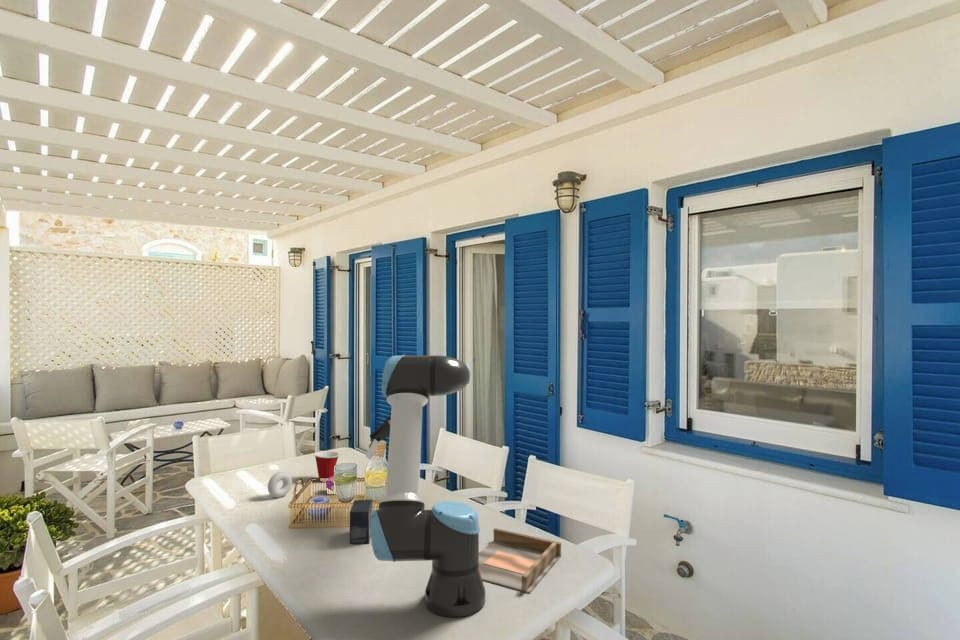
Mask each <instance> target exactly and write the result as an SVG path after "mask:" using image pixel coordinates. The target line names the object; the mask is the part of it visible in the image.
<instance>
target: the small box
mask: <svg viewBox="0 0 960 640" xmlns="http://www.w3.org/2000/svg"><path fill="white" fill-rule="evenodd" d="M372 512H373V499H360V500H359V499H358V500H357V499H356V500H354V501H353V503H352V506H351V508H350V510H349V545H369V544H370V543H371V540H372V539H371V514H372Z"/></svg>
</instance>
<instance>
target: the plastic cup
mask: <svg viewBox="0 0 960 640" xmlns="http://www.w3.org/2000/svg"><path fill="white" fill-rule="evenodd" d="M313 454H314V457H315V462H316V468H317V470H316V471H317V475H318V479H319V478H330V477H335V472H334V466H335V465H336V466H337V464H338V463H337V462H338V458H339V457H340V453H339V452H337V451H330V450H329V451H328V450H323V451H317V452H314V453H313Z"/></svg>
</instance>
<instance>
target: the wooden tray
mask: <svg viewBox="0 0 960 640" xmlns="http://www.w3.org/2000/svg"><path fill="white" fill-rule="evenodd" d="M560 558H562V542H559V541H556V540H551V539H545V538H541V537H538V536H534V535H533V536H532V535H529V534H528V535H527V534H524V533H519V532H515V531H509V530H505V529H501V528H496V527H495V528H493V541H492V542H491V543H489V544H488V545H486V546H485V547H484V548H483V549H482V550H480V551H479V571H480V574H481V578H482V581H484V582H486V581H487V583H491V584H494V585H497V584H498V585H497V586H502V587H505V588H509V589H512V590H515V591H518V592H523V593H525V594H531V593H532V592H533V590H534V589H536V587H537V586H538V585H539V583H540V582H541V581H542V580H543V579H544V577H545V576H546V575H547V574H548V573H549V571H550V570H551V569H552V568H553V567H554V565H555V564H557V562H558V561H559V559H560Z"/></svg>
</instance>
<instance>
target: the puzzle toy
mask: <svg viewBox="0 0 960 640" xmlns="http://www.w3.org/2000/svg"><path fill="white" fill-rule="evenodd" d="M334 477H335V476H334ZM334 477H330V478H329V479H328V480H327V481H326V482H325V484H326V487H325V488H328V489H330V490H332V491H333V490H334V483H333V482H332V481H331V479H333V478H334Z"/></svg>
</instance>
